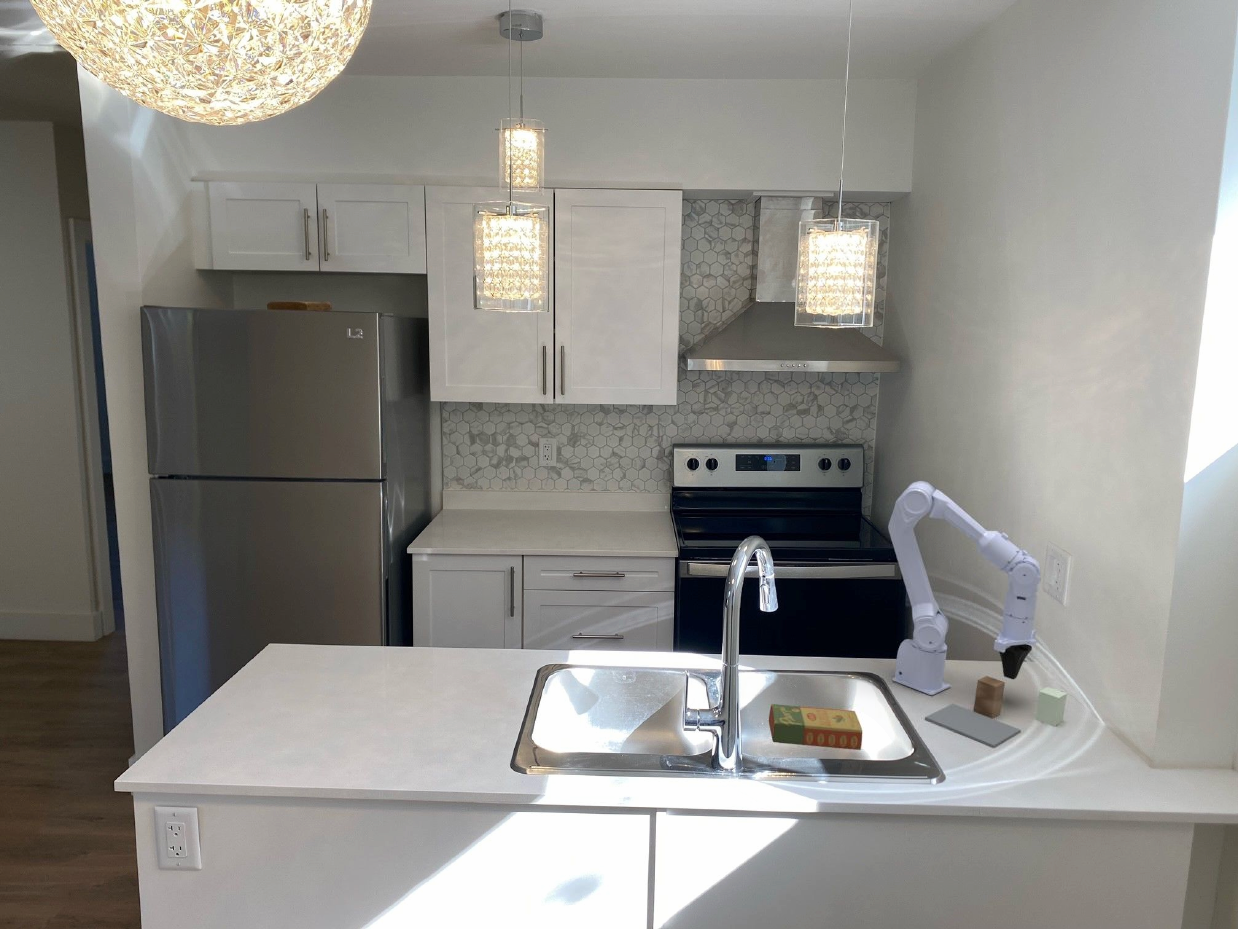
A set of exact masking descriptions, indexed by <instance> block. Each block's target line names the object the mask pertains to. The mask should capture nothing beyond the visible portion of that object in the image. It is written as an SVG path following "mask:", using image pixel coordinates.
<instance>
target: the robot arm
mask: <svg viewBox="0 0 1238 929" xmlns="http://www.w3.org/2000/svg"><path fill="white" fill-rule="evenodd" d="M928 513H930V515H929V519H930V518H931V519H941V520H946V521H947V522H948V523H949V524H951V525H952V526H953V527H955V528H956V529H958V530H959V531H960V532H961V533H963V534H964V535H966V536H967V537H968V538H970V539H971V540H972V541H973V542H975V543H976V551H977V553H979V554H980V555H981V556H983V558H985V559H986V560H987V561H988V562H989V563H991V564H992V565H993V566H994V567H995V568H997V569H998V570H999V571H1001V572H1002V573H1006V574H1007V575H1008V580H1009V583H1008V588H1007V590H1006V593H1005V601H1004V609H1003V615H1002V622H1001V630H1000V631H999V634H998V636H997V639H995V640H994V644H993V650H995V651H997V652H998V653H999V656H1000V658H1001V666H1002V674H1003V677H1004V678H1007V679H1010V680H1016V679H1017V677H1018V675H1019V673H1020V672H1021V668H1022V665H1023V663H1024V662H1025V660H1026V658H1027V657H1028V655H1029V654H1030V652H1031V651H1032V650H1033V646H1034V645H1036V644H1037V639H1036V632H1037V629H1034V621H1035V619H1034V618H1035V613H1036V606H1037V601H1038V600H1037V599H1038V596H1037V593H1038V588H1039V587H1038V586H1039V584H1040V582H1041V579H1042V577H1041V565H1040V563H1039V562H1038V560H1037V559H1036V558H1035V556H1033V555H1032V554H1029V553H1028V552H1027V551H1026V550H1025V549H1023V550H1021V549H1020V548H1019V547H1018V546H1016V545H1015V544H1014V543H1012V542H1011V541H1010V540H1009V539H1008V538H1009V535H1008V534H1006V533H1005V532H1002V533H1000V532H999V531H998V530H986V528H984V527H983V526H982V525H980V524H979V522H978V521H976V520H975V519H974V518H973V517H971V516H970V515H969V514H968V513H967V512H966V511H964V509H962V508H961V507H960V506H959V505H958V504H957V503H956V502H954V501H953V500H952V499H951V498H950V497H949V496H947V495H946V494H945V493H944V492H942V491H941V490H938V489H937V488H936V489H935V488H934V487H933V486H932V485H931V483H929V482H927V481H923V480H919V481H918V480H917V481H915V482H912V483H911V484H909V485H908V486H907V488H906V489H905V490H904V491H903V492H902V494H900V496H899V497H898V498H897V500H896V501H895V504H894V508H893V510H892V514H891V517H890V519H889V521H888V526H887V527H888V533H889V536H890V539H891V542H892V547H893V549H894V552H895V555H896V560H897V562H898V566H899V569H900V572H901V575H902V579H903V583H904V585H905V590H906V592H907V595H908V598H909V602H910V605H911V613H912V614H911V615H912V621H913V625H914V630H913V634H912V635H913V638H912V639H910V638H907V639H904V640H903V641H902V642H901V643H900V645H899V648H898V650H897V655H896V663H895V670H894V671H895V673H894V677H893V678H892V681H893V682H895V683H899V684H901V685H904V686H906V687H909V688H912V689H914V690H917V691H919V692H921V693H925V694H926V695H929V696H934V695H936V694H939V693H941V692H943V691H945V690H947V689H949V688H951V684H949V683H946V682H944V674H945V667H946V659H947V651H948V645H947V644H946V642H945V641H946V636H947V633H948V631H949V627H950V626H949V620H948V618H947V617H946V616H945V615H944V614H943V612H942V611H941V610H940V607H939V603H938V602H937V601H936V598H935V597H934V593H933V589H932V587H931V584H930V581H929V577H928V573H927V571H926V568H925V565H924V564H925V563H924V561H923V558H922V557H923V556H922V553H921V551H920V547H919V544H918V541H917V537H916V534H915V531H914V528H915V526H916V525H917V523H918V521H919V520H920V519H922V518H923V517H924V516H925V515H927V514H928Z"/></svg>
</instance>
